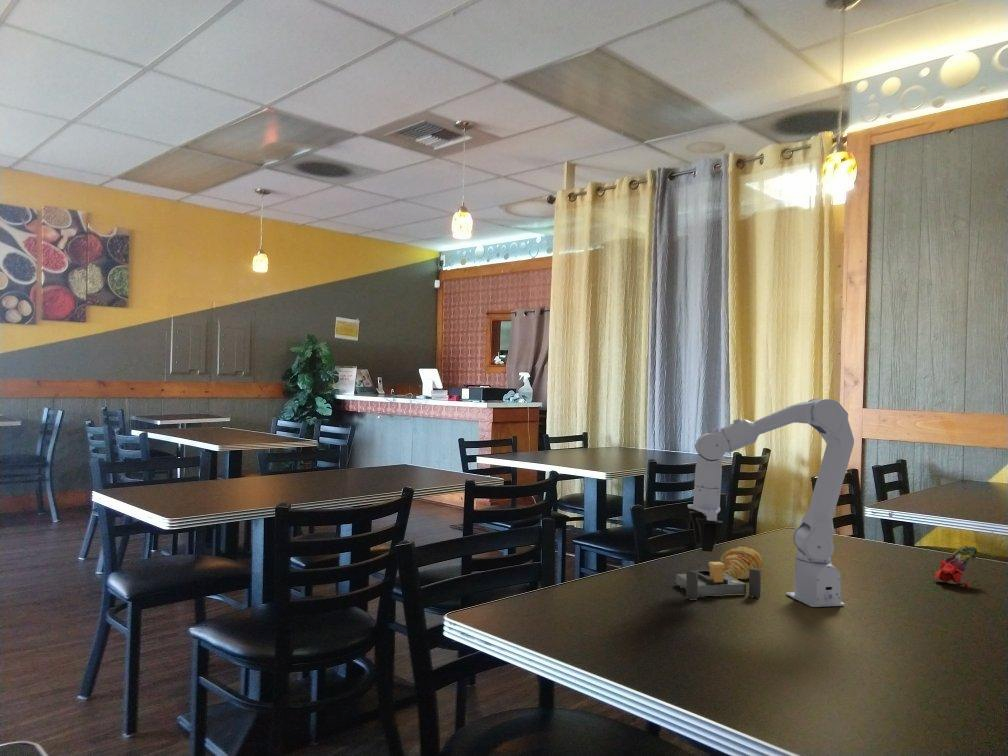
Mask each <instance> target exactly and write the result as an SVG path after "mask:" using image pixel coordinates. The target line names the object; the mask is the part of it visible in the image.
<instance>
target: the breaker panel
mask: <svg viewBox="0 0 1008 756" xmlns="http://www.w3.org/2000/svg"><path fill="white" fill-rule="evenodd" d="M693 570H694V569H693ZM694 571H697V572H698V596H706V595H724V594H746V595H747V584H746V583H745V582H743V581H741V580H737V579H735V578H733V577H731V576H729V575H727V574H725V573H723V582H713V580H712V579H710V569H701V570H700V569H695V570H694ZM675 575H676V577H675V578H676V579H675V581H676V582H675V583H677V584H678V585H680V586H681V587H683V588H684V589H686V573H677V574H675Z"/></svg>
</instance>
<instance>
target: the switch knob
mask: <svg viewBox="0 0 1008 756" xmlns="http://www.w3.org/2000/svg"><path fill="white" fill-rule="evenodd" d="M708 566H709V570H710V579H712V580H713V582H723V568H725V564H723V563H721V561H708Z"/></svg>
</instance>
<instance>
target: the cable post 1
mask: <svg viewBox="0 0 1008 756" xmlns="http://www.w3.org/2000/svg"><path fill="white" fill-rule="evenodd" d="M685 574H686V591H685V593H686V594H685V599H686V598H688V599H697V598H698V599H699V597H698V572H697V571H694V569H688V570H686V572H685Z"/></svg>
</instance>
